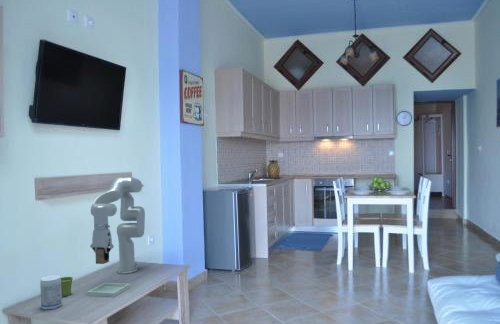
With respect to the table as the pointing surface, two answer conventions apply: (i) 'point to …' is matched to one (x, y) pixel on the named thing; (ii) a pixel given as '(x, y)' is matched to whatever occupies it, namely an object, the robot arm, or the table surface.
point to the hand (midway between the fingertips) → (102, 259)
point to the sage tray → (108, 289)
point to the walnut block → (100, 256)
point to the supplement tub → (51, 292)
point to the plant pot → (66, 285)
